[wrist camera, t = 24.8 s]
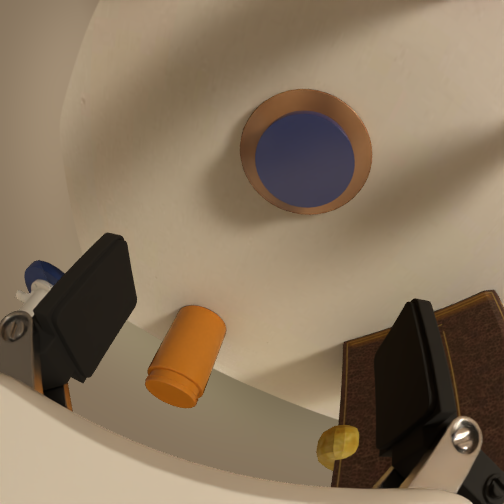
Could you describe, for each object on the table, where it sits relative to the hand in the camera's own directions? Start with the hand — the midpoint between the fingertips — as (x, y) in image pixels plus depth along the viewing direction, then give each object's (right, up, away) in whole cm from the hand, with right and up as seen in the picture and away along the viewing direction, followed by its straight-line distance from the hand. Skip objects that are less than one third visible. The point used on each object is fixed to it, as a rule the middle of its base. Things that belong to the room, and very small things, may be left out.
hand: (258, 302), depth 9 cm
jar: (-6, -7, +27) cm, 28 cm away
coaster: (+4, +9, +12) cm, 16 cm away
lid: (+3, +8, +11) cm, 14 cm away
